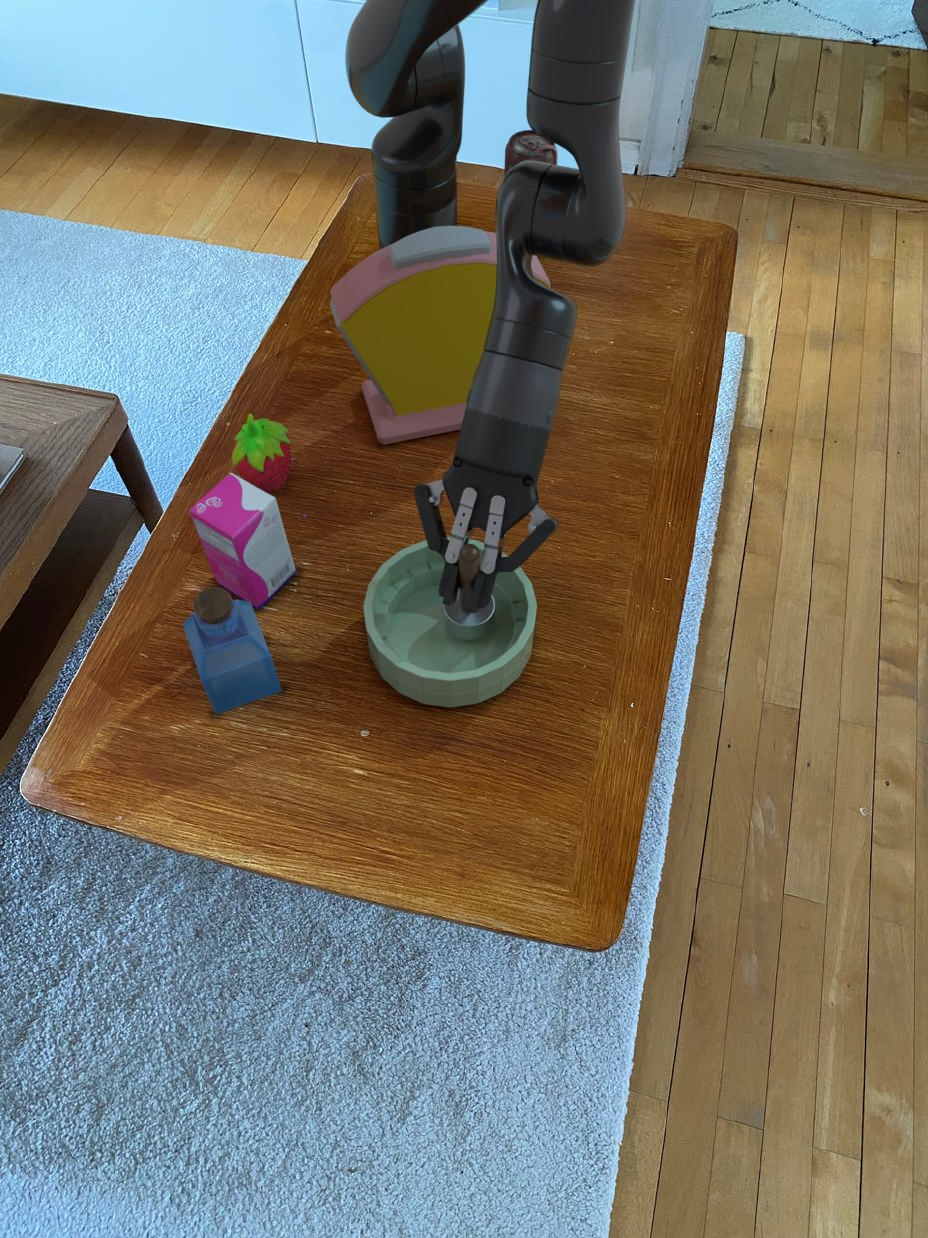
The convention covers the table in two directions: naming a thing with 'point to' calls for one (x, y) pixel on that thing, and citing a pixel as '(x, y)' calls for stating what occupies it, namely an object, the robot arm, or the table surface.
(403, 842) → the table surface
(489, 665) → the bowl
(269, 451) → the strawberry
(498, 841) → the table surface
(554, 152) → the can
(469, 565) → the peg on round base
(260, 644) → the perfume bottle
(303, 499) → the table surface
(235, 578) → the supplement box
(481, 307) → the pink and yellow fan
